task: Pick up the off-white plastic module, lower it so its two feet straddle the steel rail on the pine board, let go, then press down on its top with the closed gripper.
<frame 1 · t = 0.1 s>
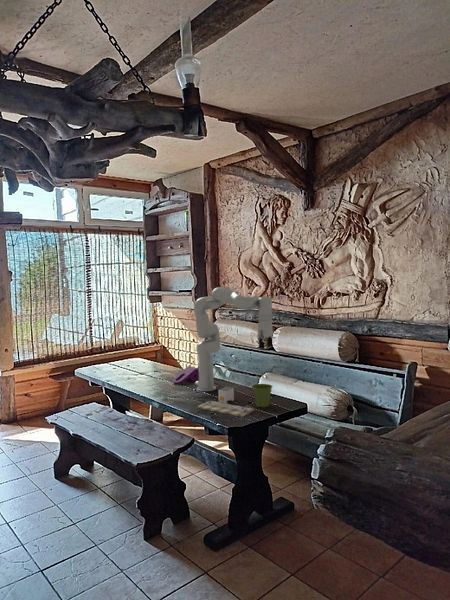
hand: (265, 347, 267), 31 cm above the table, tool pointing down, fingers open, 9 cm apart
module: (226, 401, 267), on the table
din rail: (225, 406, 252), on the rail board, point 1 cm above the table
rail board: (225, 409, 252), on the table
plant pot: (262, 406, 257), on the table
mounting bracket: (185, 382, 315), on the table
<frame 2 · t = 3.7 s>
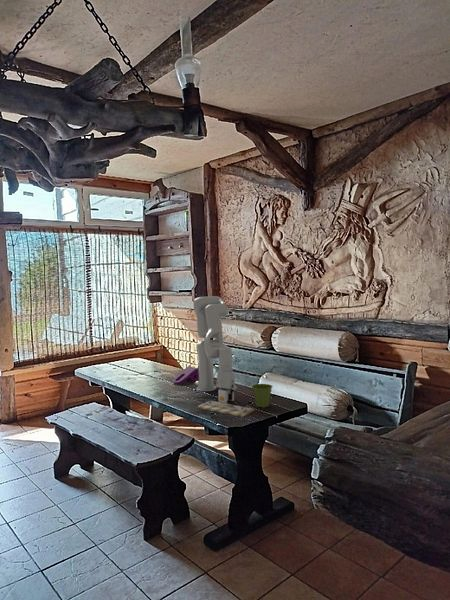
hand: (226, 398, 266), 2 cm above the table, tool pointing down, fingers closed on module, 5 cm apart
module: (226, 401, 266), on the table, touching gripper
everything else where it was.
when the fingers open (4 cm above the table, at t = 8.9 s): module drops 1 cm, resting on rail board.
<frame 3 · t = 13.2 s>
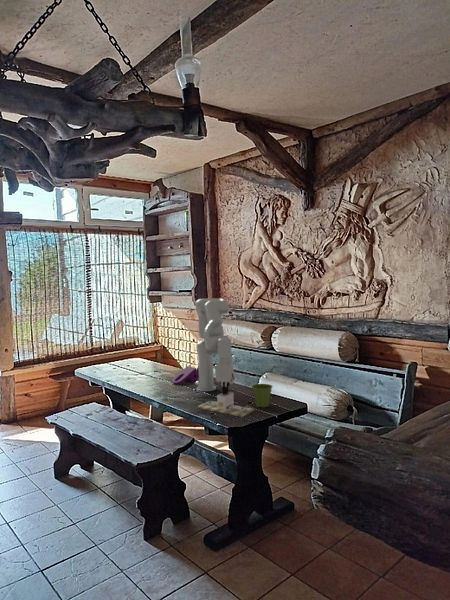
hand: (225, 393, 251), 9 cm above the table, tool pointing down, fingers closed
module: (225, 407, 252), point 1 cm above the table, touching gripper, rail board
everything else where it was.
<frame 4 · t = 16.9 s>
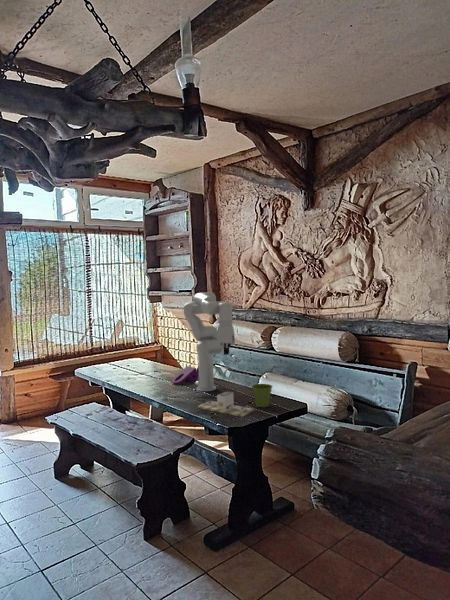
hand: (226, 354, 269), 27 cm above the table, tool pointing down, fingers closed
module: (225, 407, 252), point 1 cm above the table, touching rail board
everything else where it was.
at the end: module 0.1 cm off-centre on the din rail, point 1.0 cm above the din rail's base; module tilted 0°; the gripper is holding nothing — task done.
